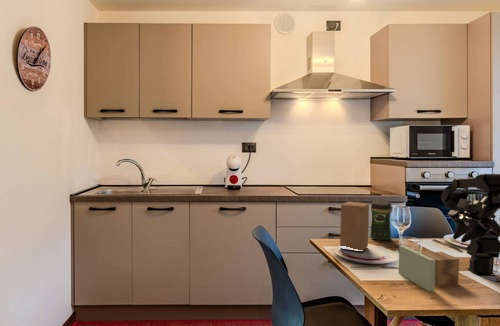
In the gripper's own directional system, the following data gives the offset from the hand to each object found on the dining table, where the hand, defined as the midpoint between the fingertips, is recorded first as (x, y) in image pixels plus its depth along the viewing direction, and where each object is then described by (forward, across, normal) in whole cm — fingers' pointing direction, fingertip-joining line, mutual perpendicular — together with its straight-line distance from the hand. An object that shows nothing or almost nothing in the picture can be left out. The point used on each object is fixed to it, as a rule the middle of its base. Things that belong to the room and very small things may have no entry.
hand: (457, 240), depth 121 cm
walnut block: (+14, 0, +5) cm, 15 cm away
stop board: (+21, 0, -1) cm, 21 cm away
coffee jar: (+8, -52, +11) cm, 54 cm away
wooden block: (+23, -38, -3) cm, 45 cm away
